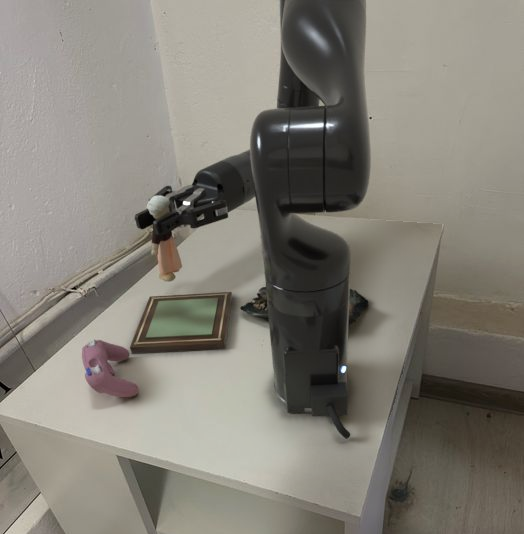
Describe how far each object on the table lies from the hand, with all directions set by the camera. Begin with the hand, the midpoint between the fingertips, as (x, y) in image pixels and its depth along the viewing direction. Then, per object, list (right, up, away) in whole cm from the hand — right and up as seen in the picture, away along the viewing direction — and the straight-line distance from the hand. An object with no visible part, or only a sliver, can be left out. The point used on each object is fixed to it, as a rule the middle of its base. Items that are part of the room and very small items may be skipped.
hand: (147, 225), depth 68 cm
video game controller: (-4, -22, -1) cm, 22 cm away
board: (+4, -13, +8) cm, 16 cm away
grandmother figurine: (+2, -5, +8) cm, 10 cm away
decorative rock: (+23, -11, +9) cm, 27 cm away
